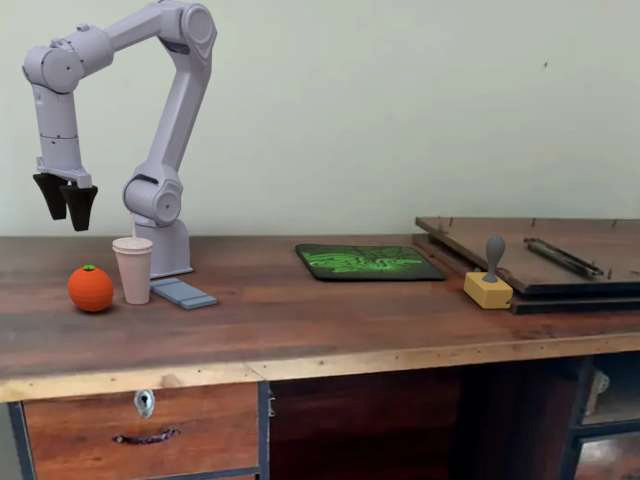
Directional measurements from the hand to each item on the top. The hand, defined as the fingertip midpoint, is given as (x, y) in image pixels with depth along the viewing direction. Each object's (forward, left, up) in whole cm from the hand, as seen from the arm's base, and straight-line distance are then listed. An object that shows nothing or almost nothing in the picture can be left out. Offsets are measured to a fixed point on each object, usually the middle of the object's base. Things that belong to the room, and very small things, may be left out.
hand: (70, 224), depth 128 cm
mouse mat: (-55, +16, -10) cm, 58 cm away
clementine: (+3, +11, -11) cm, 16 cm away
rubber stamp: (-60, +43, -11) cm, 75 cm away
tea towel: (-12, +13, -10) cm, 21 cm away
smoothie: (-5, +11, -11) cm, 16 cm away
